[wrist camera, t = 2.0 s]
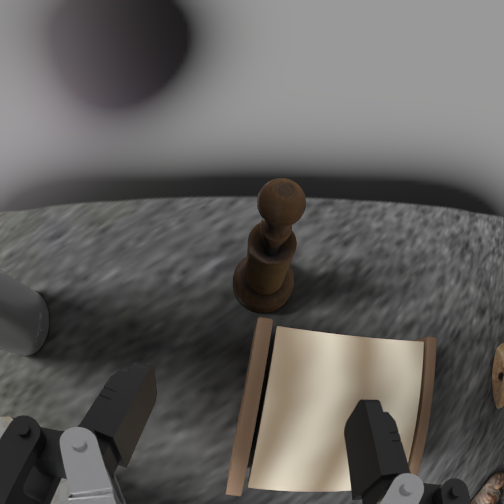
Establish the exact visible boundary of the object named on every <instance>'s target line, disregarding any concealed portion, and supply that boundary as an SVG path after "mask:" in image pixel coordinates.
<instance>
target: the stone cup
mask: <svg viewBox="0 0 504 504" xmlns="http://www.w3.org/2000/svg"><path fill="white" fill-rule="evenodd" d="M492 391H493V398H494V402H495V406H496V408H497V409H500V408H502V407H503V406H504V343H502V344H501V345H499V346H498V347H497V349H496V352H495V357H494V362H493V369H492Z"/></svg>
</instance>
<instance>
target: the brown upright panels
mask: <svg viewBox="0 0 504 504" xmlns="http://www.w3.org/2000/svg"><path fill="white" fill-rule="evenodd" d="M272 324H273V319H268V318H262V317H258V320H257V324H256V327H255V330H254V334H253V340H252V345H251V351H250V357H249V362H248V368H247V374H246V379H245V385H244V390H243V396H242V401H241V407H240V412H239V417H238V423H237V428H236V434H235V439H234V444H233V449H232V455H231V460H230V465H229V473H228V481H227V489H226V494H228V495H234V496H241V494H242V489H243V484H244V480H245V475H246V470H247V465H248V460H249V455H250V450H251V445H252V440H253V434H254V429H255V424H256V419H257V413H258V408H259V402H260V396H261V391H262V385H263V379H264V373H265V368H266V362H267V356H268V349H269V343H270V337H271V331H272ZM415 341H419V342H424V351H423V367H422V379H421V389H420V398H419V406H418V413H417V420H416V426H415V432H414V437H413V442H412V447H411V452H410V456H409V461H408V466H409V469H410V472H411V474H414V475H416V476H418V473H419V469H420V465H421V461H422V456H423V452H424V447H425V442H426V437H427V431H428V425H429V419H430V413H431V405H432V397H433V388H434V377H435V363H436V337H425V338H422V339H419V340H415Z"/></svg>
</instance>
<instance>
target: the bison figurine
mask: <svg viewBox="0 0 504 504" xmlns="http://www.w3.org/2000/svg"><path fill="white" fill-rule="evenodd" d="M471 504H504V468H503V469H501V470H500V472H498V473H495V474H494V475H493V476H492V477H491V478H489V479H488V481H487V482H486V483H485V484H484V485H483V487H482V489H481V490H480V491H479V493H478V494H477V495H476V496H475V497H474V499H473V500H472V501H471Z"/></svg>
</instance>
